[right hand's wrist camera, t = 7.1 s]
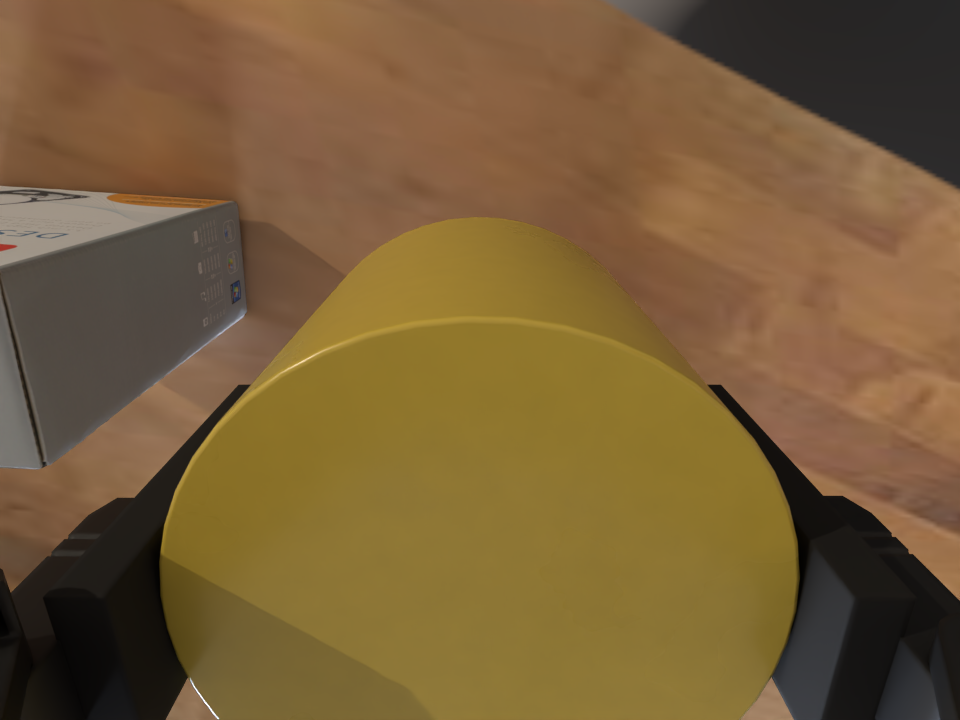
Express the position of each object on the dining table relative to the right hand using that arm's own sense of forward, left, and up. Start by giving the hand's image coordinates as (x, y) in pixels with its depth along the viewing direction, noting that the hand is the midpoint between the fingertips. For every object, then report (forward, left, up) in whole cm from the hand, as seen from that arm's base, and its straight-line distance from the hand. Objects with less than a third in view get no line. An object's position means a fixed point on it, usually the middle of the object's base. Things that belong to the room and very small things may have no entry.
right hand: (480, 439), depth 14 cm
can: (0, 0, -3) cm, 3 cm away
